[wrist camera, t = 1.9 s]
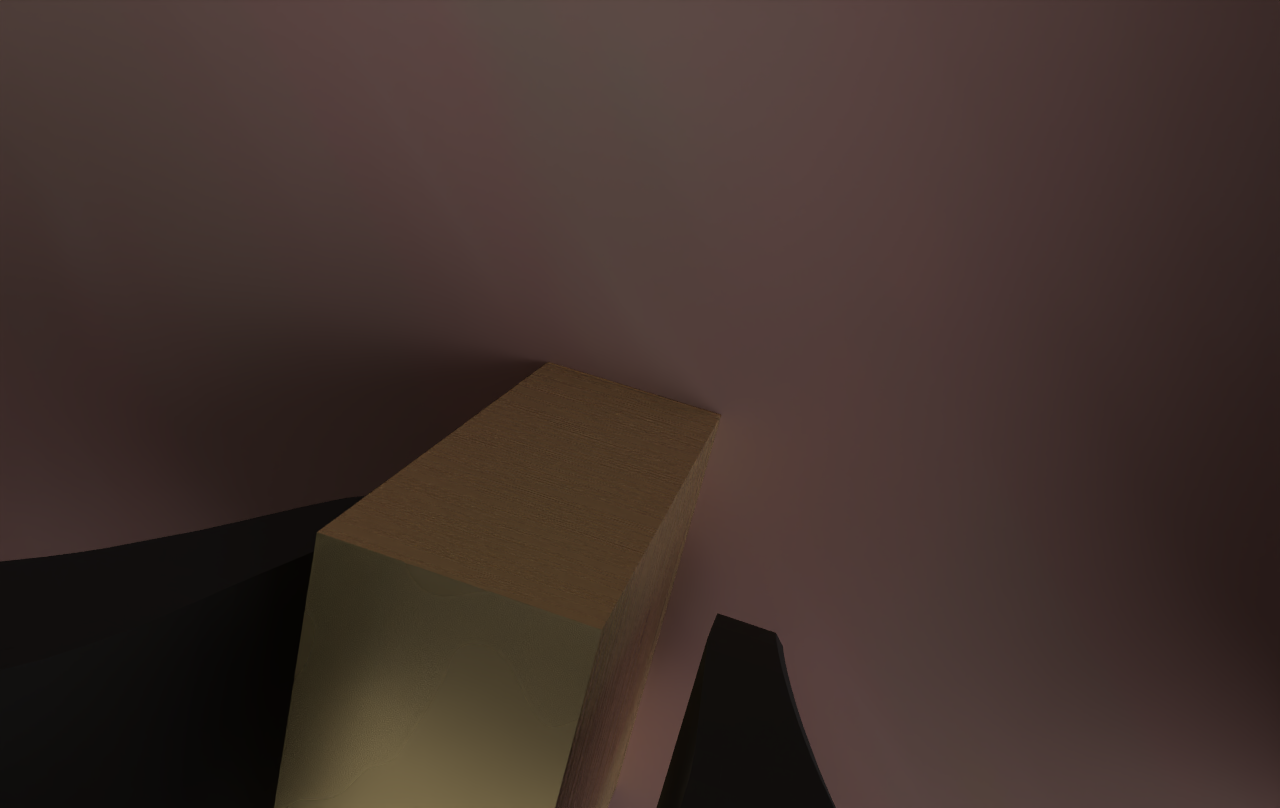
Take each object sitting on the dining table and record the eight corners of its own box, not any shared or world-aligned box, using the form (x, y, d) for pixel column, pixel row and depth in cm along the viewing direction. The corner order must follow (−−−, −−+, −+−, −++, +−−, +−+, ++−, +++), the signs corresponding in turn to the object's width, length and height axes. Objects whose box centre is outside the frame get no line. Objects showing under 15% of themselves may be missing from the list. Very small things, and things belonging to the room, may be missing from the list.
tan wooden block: (616, 786, 13) (458, 1172, 8) (467, 731, 13) (232, 1074, 8) (721, 414, 11) (602, 630, 7) (549, 361, 12) (317, 532, 7)
